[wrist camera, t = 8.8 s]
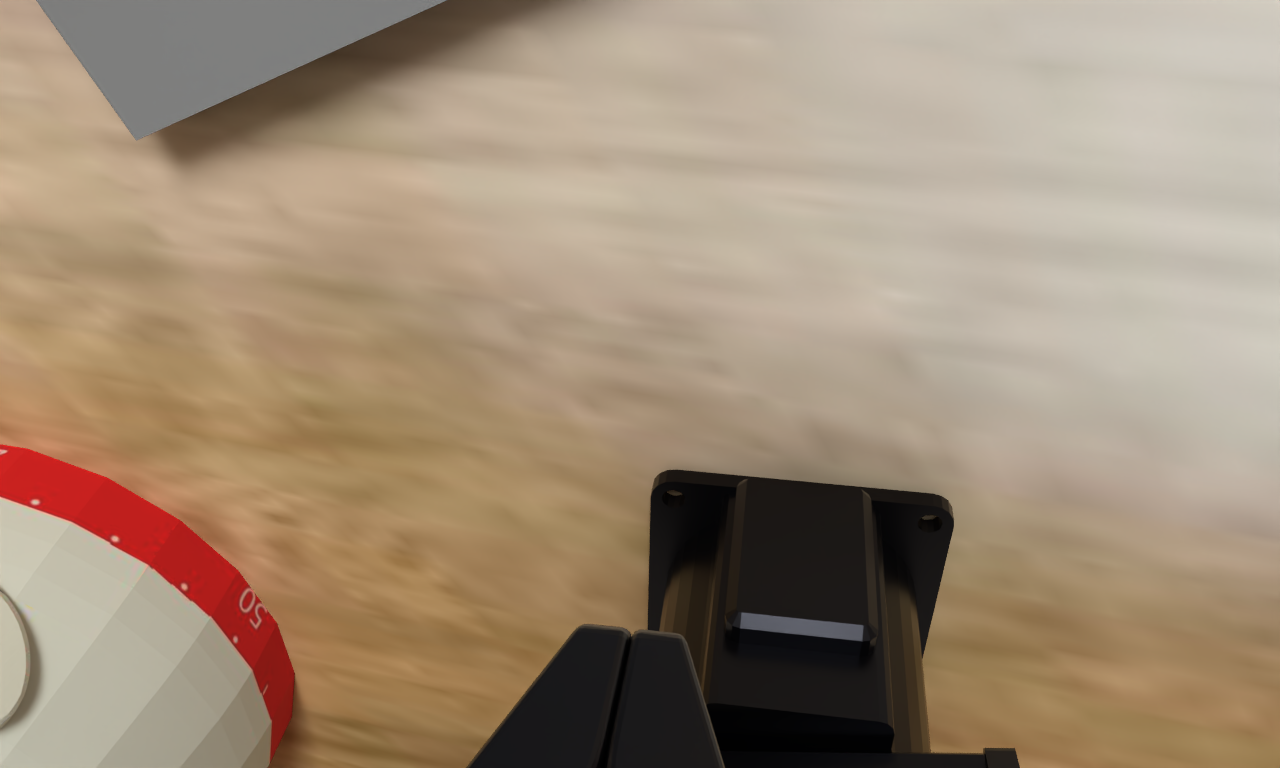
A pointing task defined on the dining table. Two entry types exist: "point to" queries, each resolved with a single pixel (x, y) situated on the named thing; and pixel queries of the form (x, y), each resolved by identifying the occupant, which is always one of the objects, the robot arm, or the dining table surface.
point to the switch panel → (206, 46)
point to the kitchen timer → (126, 633)
